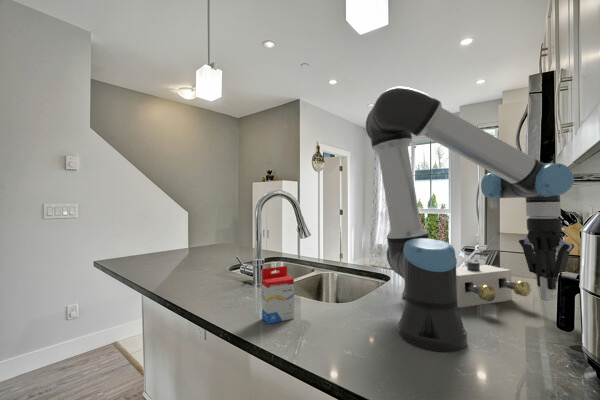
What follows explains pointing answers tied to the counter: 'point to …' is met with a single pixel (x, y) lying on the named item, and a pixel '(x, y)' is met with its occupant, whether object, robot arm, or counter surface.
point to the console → (482, 277)
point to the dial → (473, 266)
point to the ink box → (277, 295)
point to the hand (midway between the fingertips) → (547, 299)
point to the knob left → (482, 291)
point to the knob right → (516, 286)
